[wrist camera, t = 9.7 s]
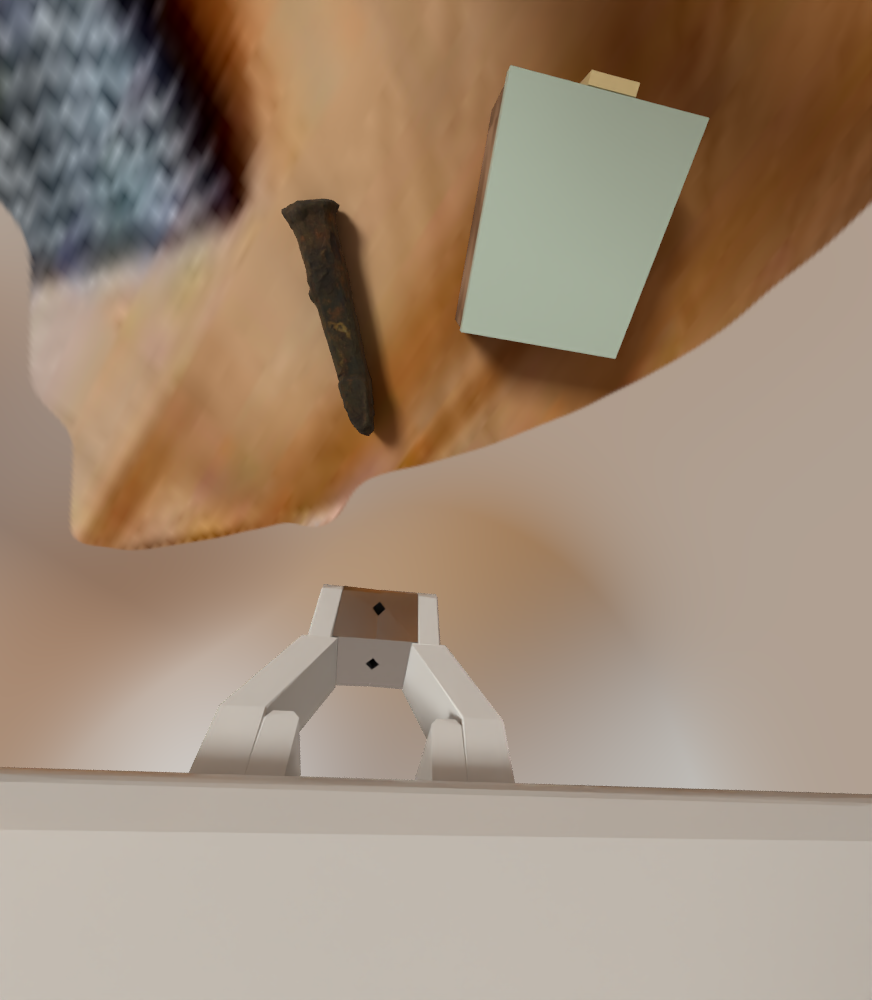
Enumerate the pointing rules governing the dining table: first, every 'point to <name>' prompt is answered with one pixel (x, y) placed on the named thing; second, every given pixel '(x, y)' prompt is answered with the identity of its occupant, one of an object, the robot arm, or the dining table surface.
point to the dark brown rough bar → (334, 303)
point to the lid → (574, 209)
